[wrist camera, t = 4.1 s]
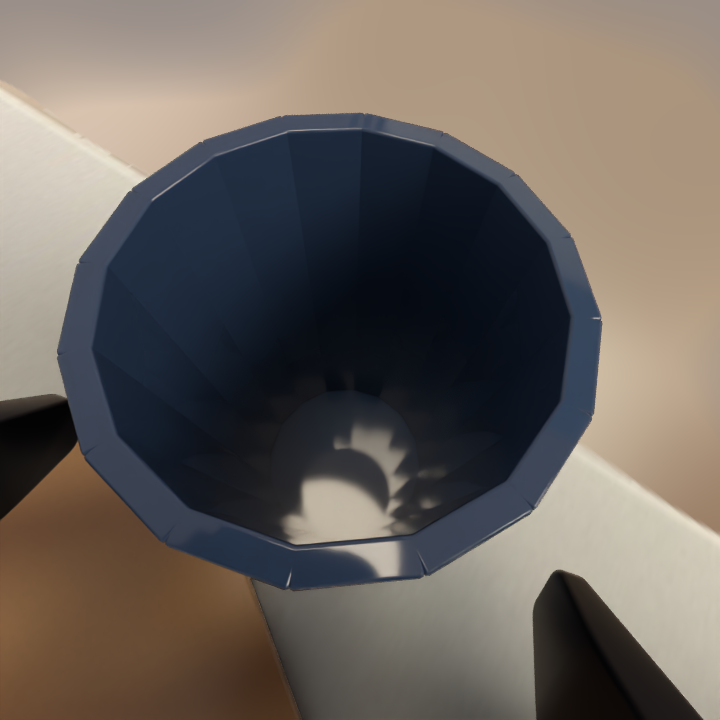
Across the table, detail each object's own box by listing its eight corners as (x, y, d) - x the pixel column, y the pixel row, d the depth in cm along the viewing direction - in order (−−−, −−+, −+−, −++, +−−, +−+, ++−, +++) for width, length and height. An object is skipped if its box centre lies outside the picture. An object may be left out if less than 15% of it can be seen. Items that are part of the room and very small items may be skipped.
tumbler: (454, 499, 17) (720, 399, 5) (305, 584, 15) (151, 745, 3) (377, 364, 19) (425, 68, 7) (241, 428, 18) (14, 198, 6)
